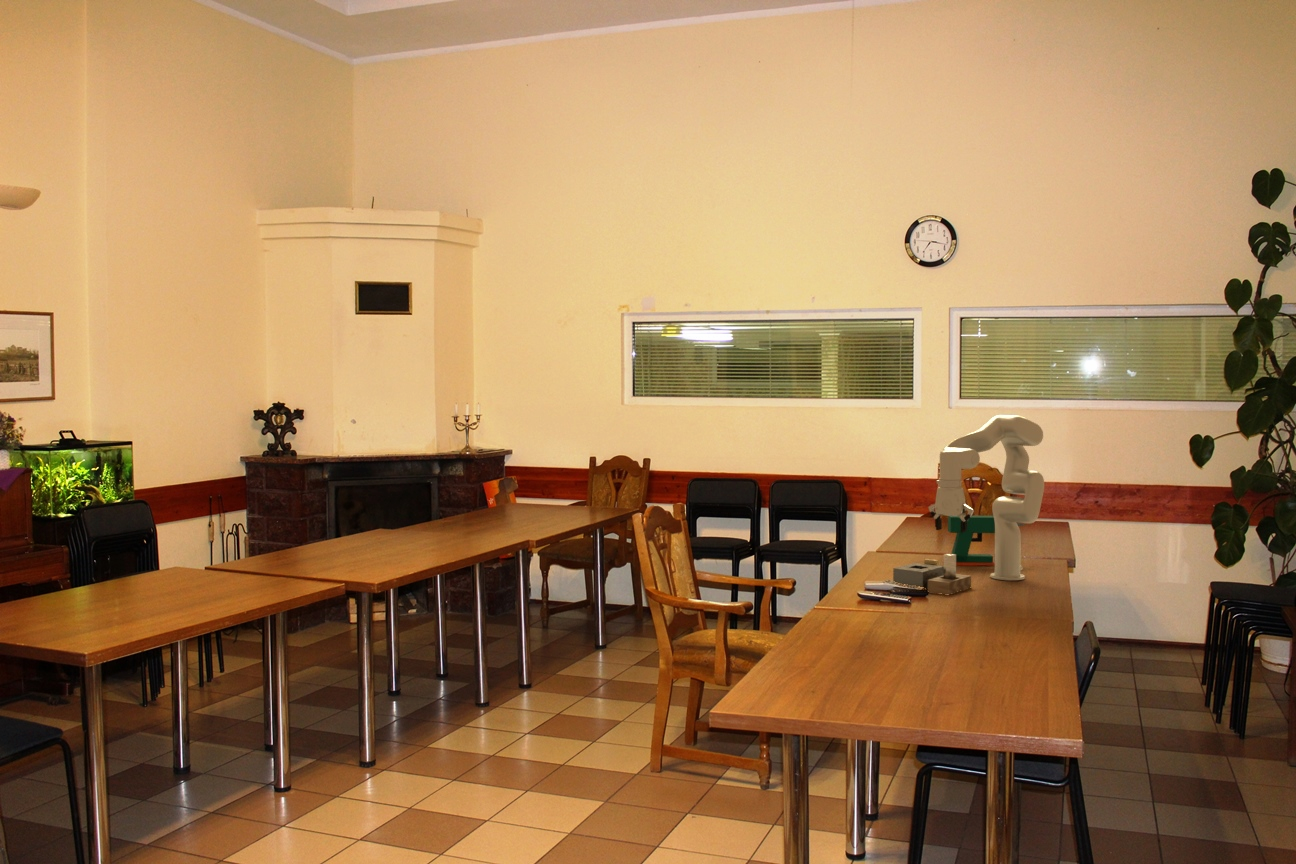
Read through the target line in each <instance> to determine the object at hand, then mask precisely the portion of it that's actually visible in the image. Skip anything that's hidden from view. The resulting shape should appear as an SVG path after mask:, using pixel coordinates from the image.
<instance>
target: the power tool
mask: <svg viewBox="0 0 1296 864" xmlns="http://www.w3.org/2000/svg"><path fill="white" fill-rule="evenodd" d="M961 521H962V520H961V519H960V517H959V516H947V532H949V533H950V534H955V539H954V543H953V545H952V550H951V553H950V554H955V555H956V566H977V565H994V566H995V561H994V556H993V555H991V554H989V553H988V554H987V553H985V554H984V553H983V554H981V553H980V554H979V553H977V554H975V553H969V552H970V548H971V545H972V543H973V542H976V543H981V542H983V534H995V523H994V516H993V515H972V516H971V517H970V518H969V519H968V521H967V530H966V532H963V533H962V532H961ZM1016 523H1017V525H1018V527H1021V526H1026V525H1027V523H1020V522H1016ZM974 534H977V535H976V537H974Z"/></svg>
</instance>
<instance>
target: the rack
mask: <svg viewBox="0 0 1296 864" xmlns="http://www.w3.org/2000/svg"><path fill="white" fill-rule="evenodd" d="M970 587H971V588H972V575H968V574H959V573H956V579H955V580H950V579H943V576H940V577H937V578H933V579H930V580H928V590H927V592H928V591H929V592H931V593H930V594H936V593H942V594H941V595H943V594H951V593H954V592H957V591H960V590H963V591H965V590H964V589H966V590H968V589H967V588H969V589H971V588H970ZM960 592H961V591H960ZM957 593H958V592H957ZM954 594H955V593H954ZM951 595H952V594H951Z"/></svg>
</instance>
